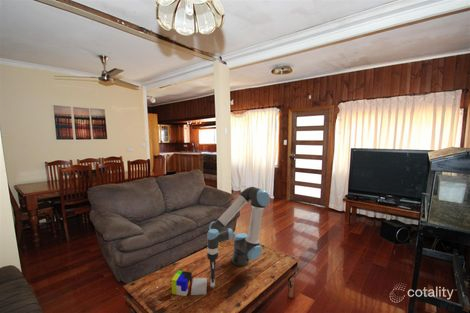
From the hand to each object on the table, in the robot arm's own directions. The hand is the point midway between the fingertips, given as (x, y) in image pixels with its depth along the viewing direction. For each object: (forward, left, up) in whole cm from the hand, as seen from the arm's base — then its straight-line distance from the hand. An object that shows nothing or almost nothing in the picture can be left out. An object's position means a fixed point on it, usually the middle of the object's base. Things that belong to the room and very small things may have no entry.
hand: (212, 283), depth 148 cm
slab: (+9, 0, -3) cm, 9 cm away
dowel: (0, 0, -2) cm, 2 cm away
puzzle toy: (+21, 0, -2) cm, 21 cm away
